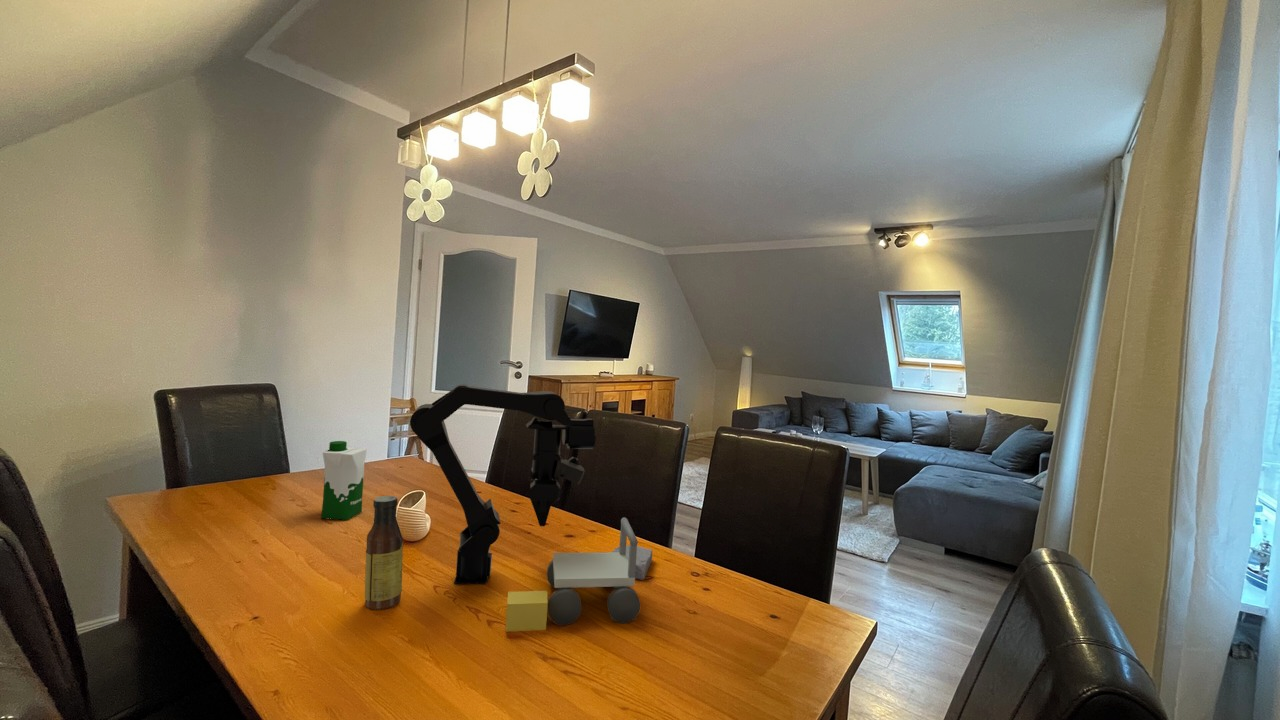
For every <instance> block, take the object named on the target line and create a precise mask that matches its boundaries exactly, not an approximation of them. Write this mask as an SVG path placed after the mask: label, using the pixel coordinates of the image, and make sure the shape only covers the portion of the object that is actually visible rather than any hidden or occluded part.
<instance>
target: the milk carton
mask: <svg viewBox="0 0 1280 720" xmlns="http://www.w3.org/2000/svg"><path fill="white" fill-rule="evenodd" d="M347 445H348V444H347V441H345V440H337V441H336V440H335V441H330V442H329V447H328V448H329V449H327V450H325V451H323V452H322V456H323V463H324V475H323V476H324V477H323V478H324V479H323V493H322V504H321V505H322V506H321V516H320V519H321V518H329V519H328V520H332V519H342V520H341V521H346V520H347V521H349V520H351V519H352V518H351V517H353V516H354V517H356V516H358V515H360V514H361V513H362V512H363V493H364V491H363V489H364V477H365V463H366V462H365V461H366V456H367V450H368V449H367V448H359V447H349V446H347ZM360 512H361V513H360ZM359 513H360V514H359ZM357 514H358V515H357ZM355 515H356V516H355ZM354 517H353V518H354ZM330 518H331V519H330ZM350 518H351V519H350ZM348 519H349V520H348Z"/></svg>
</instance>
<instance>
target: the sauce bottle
mask: <svg viewBox="0 0 1280 720" xmlns="http://www.w3.org/2000/svg"><path fill="white" fill-rule="evenodd" d="M398 504H399V503H398V497H397V496H395V495H382V496H377V497H375V498H374V499H373V505H372V506H373V508H374V511H373V513H374V515H373V516H374V519H373V523H372V526H371V529H370V530H369V532H367V535H366V550H365V576H364V577H365V578H364V600H365V601H364V604H365V606H366V607H367V608H369V609H371V610H376V611H377V610H386V609H390V608H392V607H394V606H396V605H397V604H399V602H400V601H401V598H402V592H403V565H404V564H403V559H404V558H403V557H404V556H403V555H404V553H403V551H404V550H403V549H404V540H403V539H404V538H403V534H402V531H401V529H400V527H399V522H398V520H397V506H398Z"/></svg>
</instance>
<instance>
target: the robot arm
mask: <svg viewBox="0 0 1280 720" xmlns="http://www.w3.org/2000/svg"><path fill="white" fill-rule="evenodd" d="M464 405H469V406H478V407H484V408H485V407H486V408H493V409H501V410H502V409H504V410H511V411H518V412H522V413H526V414H529V415H532V416H533V417H532V419H531V420H530V421H528V422H527V423H526V424H525V426H526V427H527V428H528V430H534V438H533V439H534V441H533V457H532V466H531V471H530V478H531V479H530V486H529V487H530V488H529V496H528V497H529V500H530V502H531V505H532V507H533V510H534V513H535V516H536V519H537V521H538V524H539V527H545V526H546V524H547V521H548V518H549V514H550V510H551V507H552V504H554V503H555V502H557V501H558V500H560V499H561V491H562V490H561V489H562V488H561V484H560V483H559V482H558V481H560V480H561V478H562V479H565V480H568V481H570V482H572V483H573V484H575V485H580V483H581V482H582V481H581V480H582V479H583V476H584V474H585V469H584V467H583V466H582V465H581V464H580V465H579V459H578V458H577V457H574V456H571V457H570V458H569V459H563V458H562V455H561V441H562V445H566V448H567V450H593V449H594V448H595V446H596V432H595V425H594V422H595V420H593V418H577V419H576V418H571V417H570V415H568V414H567V412H566V411H565V402H564V399H563V397H562V396H560V395H559V394H558V393H556V392H553V391H550V390H543V391H542V390H541V391H529V392H519V391H517V392H516V391H511V390H510V391H509V390H502V389H501V390H500V389H495V388H494V389H493V388H486V387H479V386H472V385H471V386H470V385H467V384H465V383H464V384H463V383H461V384H457V385H455V386H454V387H453V389H452V390H450V391H449V392H447V393H445V394H444V395H442V396H441V397H439V398H438V399H436V400H435V401H433V402H432V403H425V404H421V405H420V406H418V407H417V408H416V409H415V410H414V411H413V413H412V414H411V416H410V421H409V425H410V429H411V430H412V433H414V434H415V435H416V436H417V438H418V439H419V440H420V442H421V443H423V444H424V445H425V447H426V448H428V449H429V451H431V453H432V454H433V456H434V458H435V460H436V462H437V464H438V466H439V467H440V469H441V470H442V472H443V475H444V476H445V479H446V481H447V482H448V484H449V485H450V487H451V490H452V491H453V493H454V495H455V496H456V498H457V501H458V502H459V504H460V506H461V508H462V509H463V513H464V517H465V521H466V524H467V526H466V527H464V529H463V530H461V532H460V533H459V545H458V550H457V554H456V569H455V570H456V573H455V578H454V580H453V584H454V585H461V584H462V585H467V584H468V585H469V584H486V583H487V582H488V578H489V577H490V576H491V573H492V561H493V560H492V559H493V553H492V552H490V549H491V548H490V547H491V545H493V544H494V543H495V542H497V540H498V538H499V536H500V533H501V531H500V525H501V523H502V522H501V519H500V513H499V512H498V511H497V510H496V509H495V508H494V505H493V501H492V499H491V498H489V499H488V500H486V501H484V500H483V499H482V498H481V497H480V495H479V493H478V491H477V490H476V488H475V486H474V484H473V482H472V480H471V479H470V476H469V475H468V472H467V471H466V469H465V467H464V465H463V464H462V461H461V459H460V458H459V456H458V454H457V452H456V450H455V449H454V446H453V444H452V443H451V441H450V437H449V434H448V430H447V427H446V423H445V420H446V419H448V418H450V417H451V416H452V415H453V414H454V413H455V412H456V411H458V410H459V409H461V408H462V407H463V406H464ZM537 417H538V418H541V419H545V420H538V419H537ZM553 421H556V422H558V423H560V424H553Z"/></svg>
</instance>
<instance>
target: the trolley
mask: <svg viewBox="0 0 1280 720" xmlns="http://www.w3.org/2000/svg"><path fill="white" fill-rule="evenodd" d="M634 532H635V531H633V528H632V527H631V525H630V522H629V520H628V518H626V517H622V518H621V519H620V534H619V535H620V536H619V546H618V547H619V552H612V551H611V552H603V551H602V552H597V551H596V552H553V557H552V560H551V561H550V562H549V563H548V564H547V565H548V566H547V569H546V578H547V581H548V583H549V585H550V586H552V587H553V588H555V589H556V590H555V591H554V592H553V593H551V595H550V596H549V598H548V604H547V615H548V617H549V619H550V620H551V621H552V622H553V623H554V624H556V625H558V626H568V625H570V624H572V623H574V622H575V621H576V620H577V619H578V618H580V615H581V613H582V602H581V597H580V595H579V593H578V592H577V590H575V589H573V588H600V587H601V588H602V587H603V588H604V587H605V588H606V587H607V588H612V589H613V588H614V589H613V590H612V591H611V592H610V593H609V595H608V597H607V599H606V600H607V601H606V607H607V610H608V613H609V617H610V618H611V620H613V621H615V623H619V624H627V623H630V622H632V621H633V620H635V619H636V618H637V616H638V615H639V613H640V611H641V600H640V598H639V596H638V593H637V592H636V591H635V589H633V588H632V587H635V582H636V579H635V568H636V554H637V546H638V543H639V542H638V538H637V537H636V535H635V533H634ZM627 540H628V541H629V545H630V547H629V562H628V559H627V557H626V546H627Z"/></svg>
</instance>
